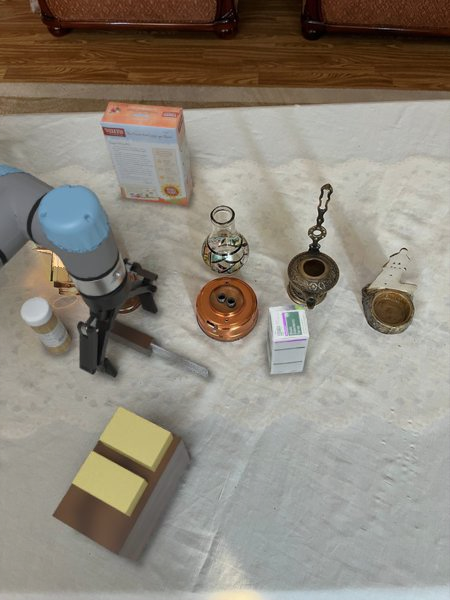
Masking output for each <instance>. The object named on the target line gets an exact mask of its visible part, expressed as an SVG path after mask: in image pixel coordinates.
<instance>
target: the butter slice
mask: <svg viewBox="0 0 450 600" xmlns="http://www.w3.org/2000/svg"><path fill="white" fill-rule="evenodd" d="M72 483H73V484H74V485H76V486H77V487H79V488H81V489H82V490H84V491H86V492H87V493H89V494H91V495H93V496H94V497H96V498H98V499H100V500H101V501H103V502H105V503H107V504H108V505H110V506H112V507H114V508H115V509H117V510H119V511H121V512H122V513H124V514H126V515H128V516H129V517H130V516H131V514H132V512H133V510H134V509H135V507H136V505H137V503H138V501H139V500H140V498H141V496H142V494H143V492H144V491H145V489H146V487H147V485H148V483H147V482H146V481H145V479H143V478H141V477H140V476H138V475H136V474H134V473H132V472H130V471H129V470H127V469H125V468H123V467H121V466H119V465H118V464H116V463H114V462H112V461H110V460H109V459H107V458H105V457H103V456H101V455H99V454H98V453H96V452H94V451H93V450H91V451H90V453H89V454H88V455H87V457H86V459H85V461H84V462H83V464H82V465H81V466H80V468H79V470H78V472H77V473H76V475H75V477H74V479H73V480H72V482H71V484H72Z"/></svg>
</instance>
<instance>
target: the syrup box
mask: <svg viewBox="0 0 450 600" xmlns="http://www.w3.org/2000/svg"><path fill="white" fill-rule="evenodd" d="M309 341H310V330H309V325H308V319H307V312H306V307H305V304H304V303H303V304H287V305H279V306H271V307H269V308H268V315H267V334H266V352H267V358H268V366H269V374H271V375H278V374H289V373H300V372H301V373H302V372H303V370H304V366H305V362H306V357H307V352H308V346H309Z"/></svg>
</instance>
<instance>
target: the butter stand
mask: <svg viewBox="0 0 450 600" xmlns="http://www.w3.org/2000/svg"><path fill="white" fill-rule="evenodd" d="M171 434H172V436H173V440H172V442H171V444H170V446H169V447H168V449H167V451H166V453H165V455H164V456H163V458H162V460H161V462H160V464H159V465H158V467H157V469H156V471H155V472H153V471H151V470H150V469H148V468H146V467H144V466H142V465H140V464H138V463H137V462H135V461H133V460H131V459H129V458H127V457H126V456H124V455H122V454H120V453H118V452H116V451H114V450H113V449H111V448H109V447H107V446H105V445H104V444H103V443H102V442H101V441H100V440H99V439H98V441H97V443H96V444H95V446H94V447H93V449H92V451H94V452H96V453H98V454H99V455H101V456H103V457H105V458H107V459H109V460H110V461H112V462H114V463H116V464H118V465H119V466H121V467H123V468H125V469H127V470H129V471H130V472H132V473H134V474H136V475H138V476H140V477H141V478H143V479H145V481H146V482H147V483H148V485H147V487H146V489H145V491H144V492H143V494H142V496H141V498H140V500H139V501H138V503H137V505H136V507H135V509H134V510H133V512H132V514H131V516H130V517H129V516H128V515H126V514H124V513H122V512H121V511H119V510H117V509H115V508H114V507H112V506H110V505H108V504H107V503H105V502H103V501H101V500H100V499H98V498H96V497H94V496H93V495H91V494H89V493H87V492H86V491H84V490H82V489H81V488H79V487H77V486H76V485H74V484H73V483H72V482H71V484H70V486H69V487H68V489H67V491H66V493H65V494H64V496H63V497H62V499H61V500H60V502H59V503H58V505H57V507H56V508H55V510H54V511H53V513H52V515H51V517H53V518H55V519H56V520H58V521H60V522H61V523H63V524H65V525H66V526H68V527H70V528H71V529H73V530H75V531H77V532H78V533H80V534H81V535H83V536H84V537H86V538H87V539H90V540H91V541H93V542H94V543H97V544H98V545H100V546H101V547H103V548H105V549H106V550H108V551H110V552H111V553H113V554H114V555H116V556H118V557H121V558H124V559H128V560H130V561H133V562H139V559H140V558H141V556H142V555H143V552H144V550H145V548H146V546H147V544H148V543H149V541H150V539H151V537H152V536H153V533H154V531H155V529H156V528H157V526H158V524H159V522H160V520H161V519H162V516H163V514H164V512H165V510H166V509H167V507H168V505H169V503H170V501H171V500H172V497H173V496H174V494H175V492H176V490H177V488H178V486H179V484H180V482H181V480H182V479H183V476H184V475H185V473H186V471H187V469H188V467H189V465H190V464H191V461H192V460H191V458H190V455H189V453H188V451H187V447H186V445H185V443H184V440H183V438H182V437H180V436H179V435H176V434H174V433H172V432H171Z"/></svg>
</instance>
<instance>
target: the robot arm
mask: <svg viewBox="0 0 450 600" xmlns="http://www.w3.org/2000/svg"><path fill="white" fill-rule="evenodd" d="M29 241H31V242H33V243H35V244H36V245H38V246H41V247H42V248H45V249H46V250H48V251H50V252H52V253H53V254H55V255H56V256H57V258H58V259H59V260H60V261H61V263H62V265H63V266H64V268H65V270H66V272H67V274H68V276H69V278H70V280H71V281H72V284H73V286H75V288H76V290H77V292H78V294H79V295H80V298H81V299H82V301H83V302H84V303H85V305H86V306H87V307H88V310H89V312H88V313H89V317H88V318H87V320H85V322H84V321H82V320H80V321H79V322H77V325H76V329H77V331H78V335H79V339H78V340H79V341H78V343H79V346H78V347H79V349H78V350H79V354H78V355H79V356H78V357H79V358H78V359H79V361H78V362H79V366H78V367H79V369H80V370H82V371H84V372H86V373H88V374H90V375H93V376H94V375H95V374H96V373H97V372H99V373H101V374H106V375H109V376H111V377H113V378H116V377H117V375H118V373H117V371H116V369H115V368H114V366H113V364H112V363H111V361H110V359H109V358H108V357H106V355H107V349H108V343H109V339H110V338H109V335H110V330H111V329H112V328H114V325H115V320H117V316H118V314H119V313H120V310H121V309H122V308H123V307H124V305H125V304H126V301H128V300H129V299H132V298H135V296H138V297H137V298H138V300H139V302H140V305H141V308H142V310H145V311H147V312H149V313H151V314H153V315H157V313H158V308H157V305H156V302H155V299H154V297H155V294H156V292H157V291H158V286H157V285H154V282H157V281H158V279H159V274H157V273H155V272H152V271H150V270H149V269H145V268H143V267H142V265H141V263H139V262H137V261H135V260H132V259H130V258H127V257H124V258H123V256H122V254H121V252H120V249H119V246H118V243H117V241H116V237H115V235H114V232H113V230H112V227H111V223H110V220H109V215H108V214H107V211H106V210H105V209H104V207H103V205H102V203H101V201H100V199H99V197H98V196H97V194H96V193H95V192H94V191H93V190H91V188H88V187H86V186H84V185H81V184H77V185H72V184H62V185H59V186H56V187H54V186H51V185H50V184H49V183H47V182H45V181H43V180H41V179H39V178H38V177H36V176H34V175H33V174H31V173H29V172H28V171H24V170H23V169H19V168H17V167H14V166H11V165H8V164H0V270H1V269H2V268H3V267H4V266H5V265H6V264H7V263H9V262H10V261H11V260H12V258H13V257H14V256H16V254H17V253H18V252H19V251H20V250H21V249H23V248H24V247H25V245H26V244H27V243H28V242H29ZM133 275H134V276H139V277H142V278H143V279H138V280H131V278H130V277H131V276H133ZM105 320H108V322H107V321H105Z"/></svg>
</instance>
